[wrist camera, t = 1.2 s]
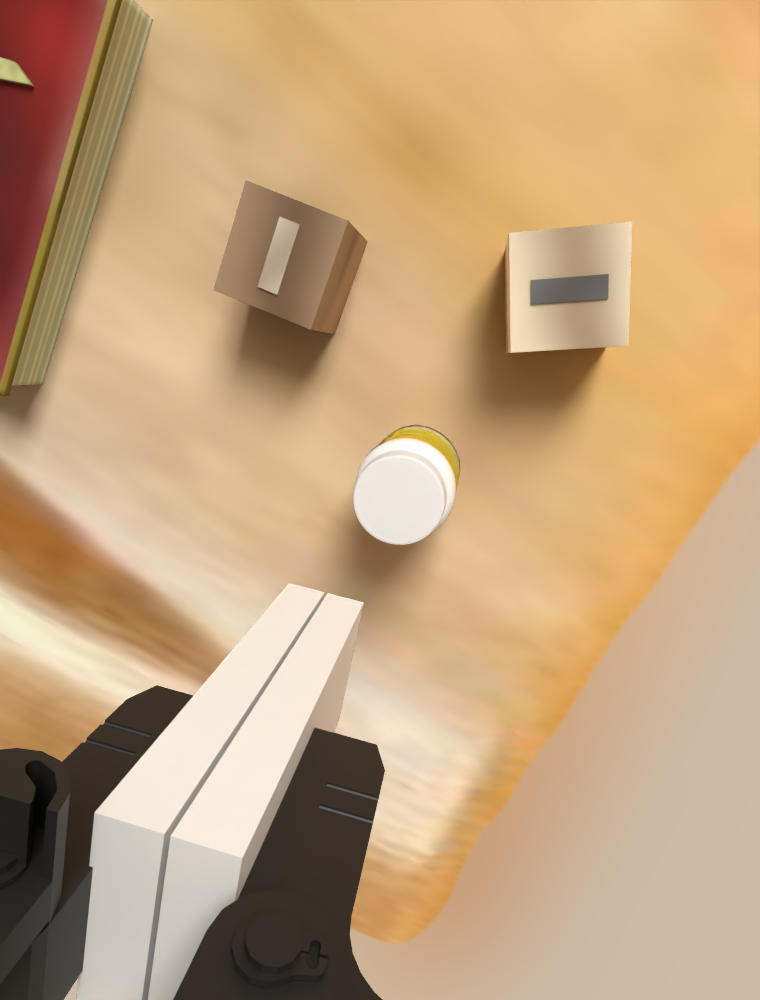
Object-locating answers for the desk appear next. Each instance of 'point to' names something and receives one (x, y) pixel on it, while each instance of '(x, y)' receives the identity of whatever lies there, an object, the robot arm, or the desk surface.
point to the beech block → (568, 288)
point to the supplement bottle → (407, 485)
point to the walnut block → (290, 259)
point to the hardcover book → (55, 157)
